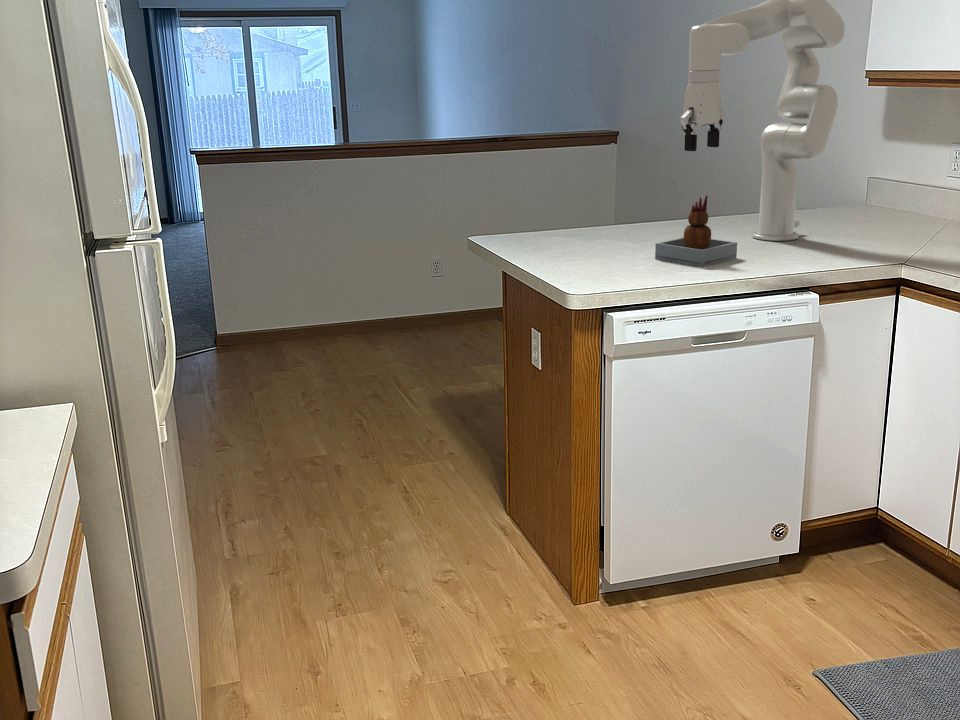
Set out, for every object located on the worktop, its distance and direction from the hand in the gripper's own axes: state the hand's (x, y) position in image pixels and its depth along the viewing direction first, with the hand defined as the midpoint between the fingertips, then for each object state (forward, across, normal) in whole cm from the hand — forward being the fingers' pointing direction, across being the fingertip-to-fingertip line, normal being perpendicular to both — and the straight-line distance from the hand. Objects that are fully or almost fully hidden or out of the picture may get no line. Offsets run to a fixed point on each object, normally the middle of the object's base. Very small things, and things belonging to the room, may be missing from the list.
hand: (701, 148), depth 232 cm
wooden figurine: (+26, +4, +2) cm, 27 cm away
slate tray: (+27, +4, +2) cm, 28 cm away
